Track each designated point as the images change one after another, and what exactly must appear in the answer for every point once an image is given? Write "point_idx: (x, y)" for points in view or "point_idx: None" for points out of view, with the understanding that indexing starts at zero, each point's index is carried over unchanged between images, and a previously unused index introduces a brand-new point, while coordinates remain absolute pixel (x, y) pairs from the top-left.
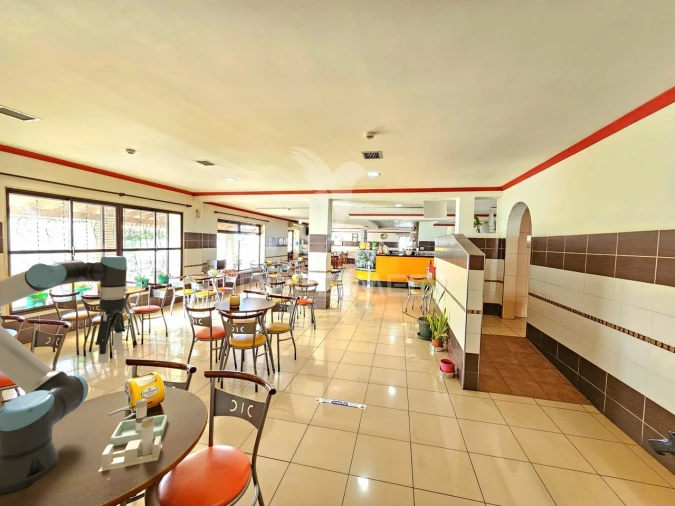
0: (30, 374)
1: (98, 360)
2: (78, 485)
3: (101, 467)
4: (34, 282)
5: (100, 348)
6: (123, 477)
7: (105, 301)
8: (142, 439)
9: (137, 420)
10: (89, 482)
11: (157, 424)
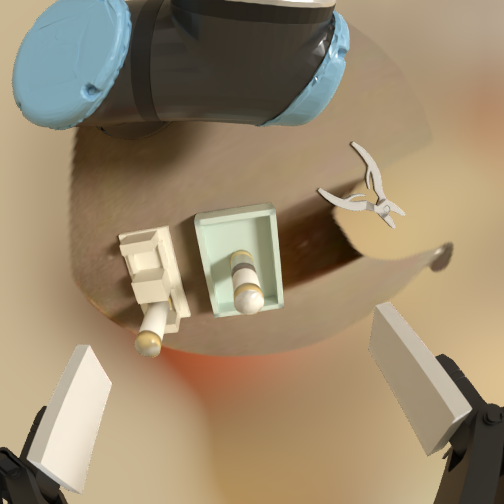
0: None
1: (69, 360)
2: (96, 214)
3: (128, 234)
4: None
5: (28, 444)
6: (112, 280)
7: None
8: (144, 316)
9: (232, 273)
10: (101, 229)
11: (269, 283)
